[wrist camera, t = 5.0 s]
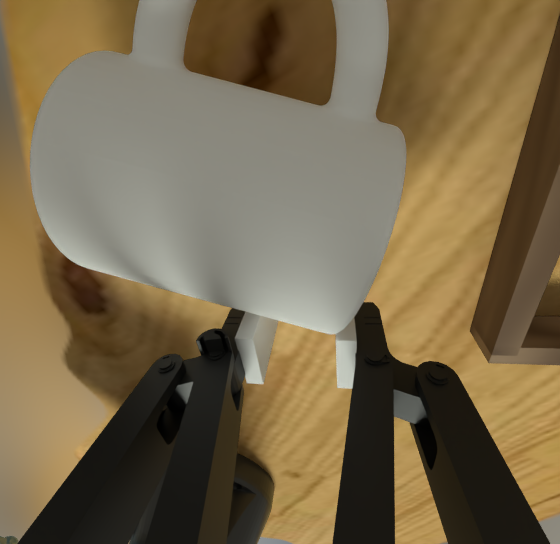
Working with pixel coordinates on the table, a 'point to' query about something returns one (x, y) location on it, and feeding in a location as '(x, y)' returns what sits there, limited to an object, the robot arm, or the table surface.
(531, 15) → the table surface
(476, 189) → the table surface
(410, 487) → the table surface
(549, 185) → the keyhole corral
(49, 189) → the mug
